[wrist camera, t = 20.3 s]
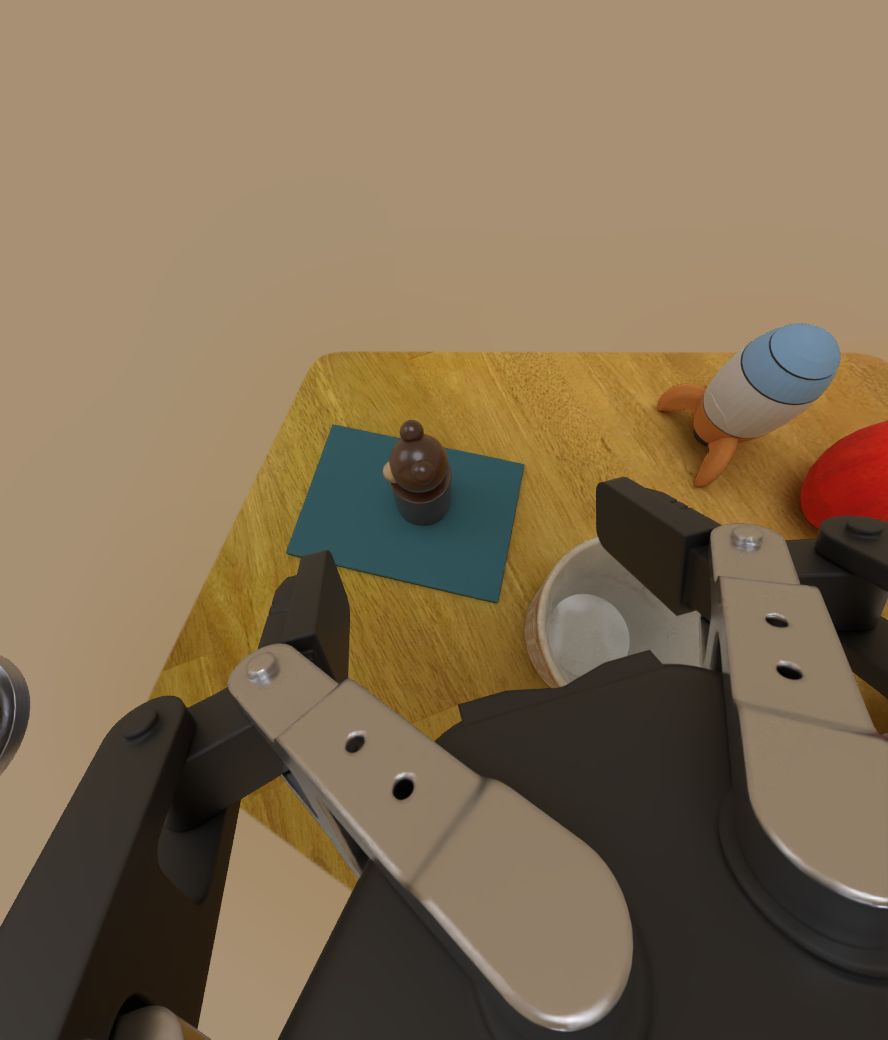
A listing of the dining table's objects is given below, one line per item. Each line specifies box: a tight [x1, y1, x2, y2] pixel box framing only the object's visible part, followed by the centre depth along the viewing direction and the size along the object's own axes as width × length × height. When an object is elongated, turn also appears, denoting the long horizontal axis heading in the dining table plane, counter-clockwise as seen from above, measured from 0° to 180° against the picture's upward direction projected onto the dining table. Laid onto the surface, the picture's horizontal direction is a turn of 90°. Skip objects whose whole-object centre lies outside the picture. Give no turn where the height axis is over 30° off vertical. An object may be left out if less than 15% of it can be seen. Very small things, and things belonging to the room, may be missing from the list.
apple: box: [800, 421, 888, 529], centre depth 34 cm, size 10×10×12 cm
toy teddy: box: [383, 420, 452, 526], centre depth 35 cm, size 6×5×11 cm
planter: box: [524, 537, 700, 688], centre depth 31 cm, size 13×13×10 cm
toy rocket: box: [657, 324, 840, 487], centre depth 36 cm, size 10×11×15 cm
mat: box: [286, 425, 524, 603], centre depth 40 cm, size 20×14×1 cm
